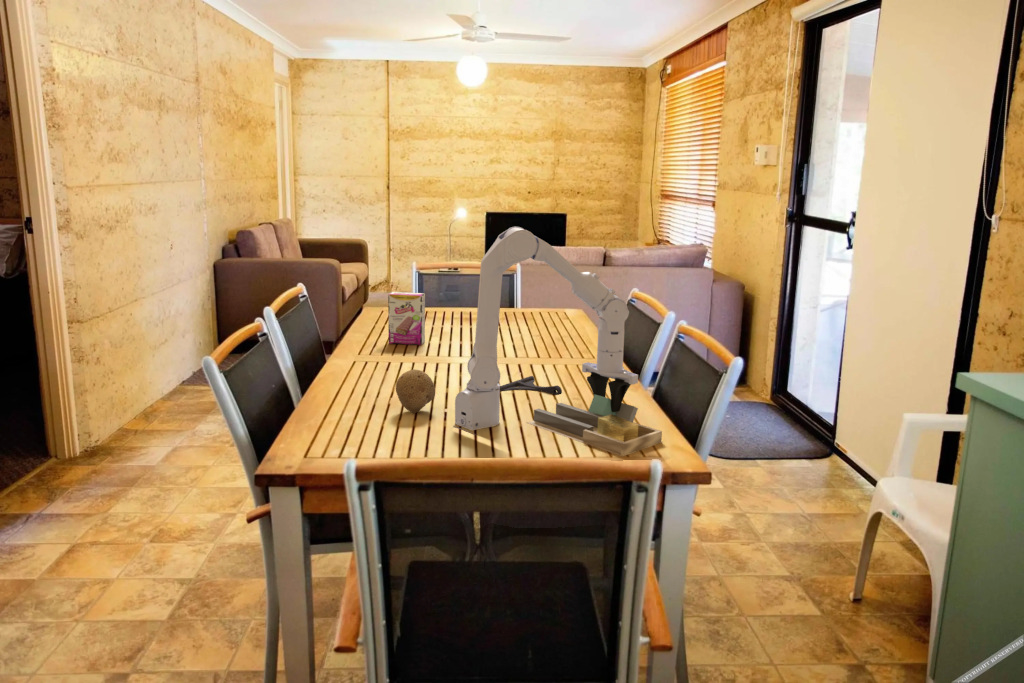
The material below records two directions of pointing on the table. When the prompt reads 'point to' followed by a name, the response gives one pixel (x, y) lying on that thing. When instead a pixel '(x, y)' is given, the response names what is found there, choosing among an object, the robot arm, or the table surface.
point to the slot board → (592, 430)
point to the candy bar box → (406, 318)
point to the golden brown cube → (606, 424)
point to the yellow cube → (623, 430)
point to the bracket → (530, 386)
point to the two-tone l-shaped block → (604, 408)
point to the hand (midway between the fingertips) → (607, 408)
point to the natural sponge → (415, 390)
